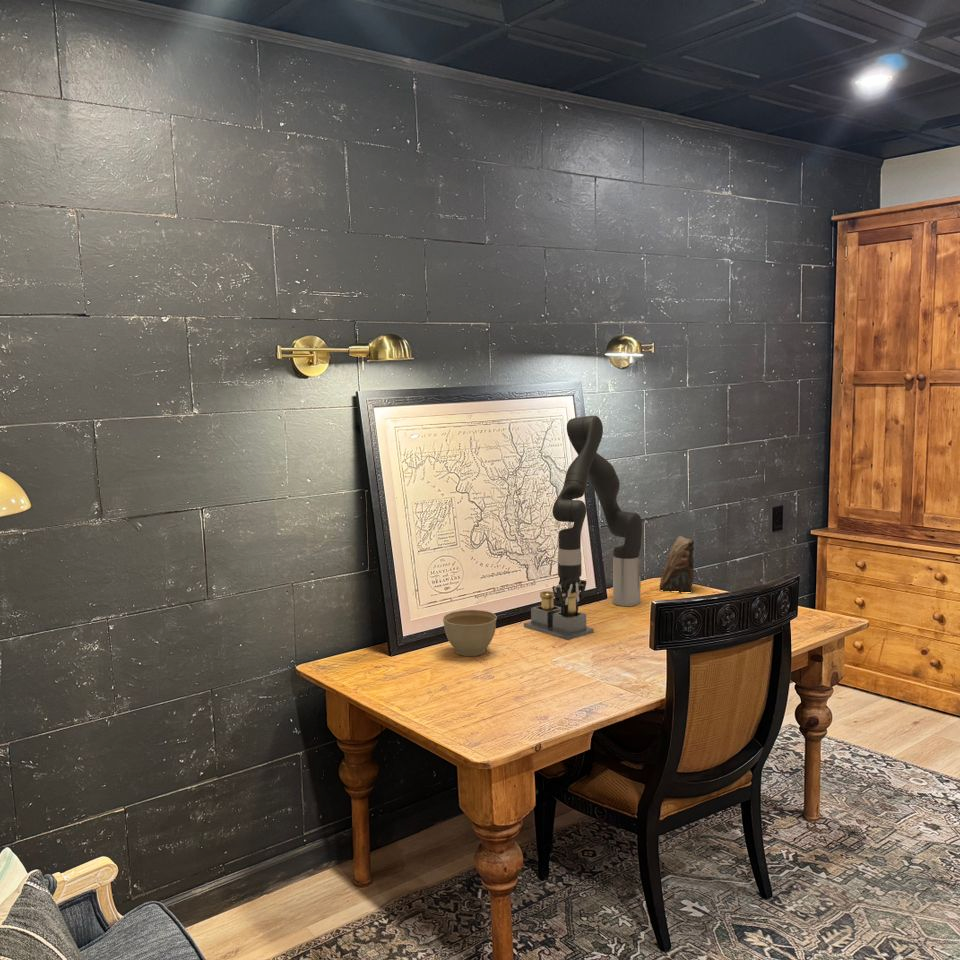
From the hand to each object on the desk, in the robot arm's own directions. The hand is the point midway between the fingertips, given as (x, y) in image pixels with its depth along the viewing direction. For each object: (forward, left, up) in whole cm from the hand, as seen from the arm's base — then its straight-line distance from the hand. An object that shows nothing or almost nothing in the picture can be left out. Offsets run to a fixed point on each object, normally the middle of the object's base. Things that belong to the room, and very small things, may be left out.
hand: (569, 613), depth 291 cm
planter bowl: (+36, -7, -6) cm, 37 cm away
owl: (-70, -11, -6) cm, 71 cm away
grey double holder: (0, -5, -6) cm, 8 cm away
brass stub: (0, 0, -3) cm, 3 cm away
